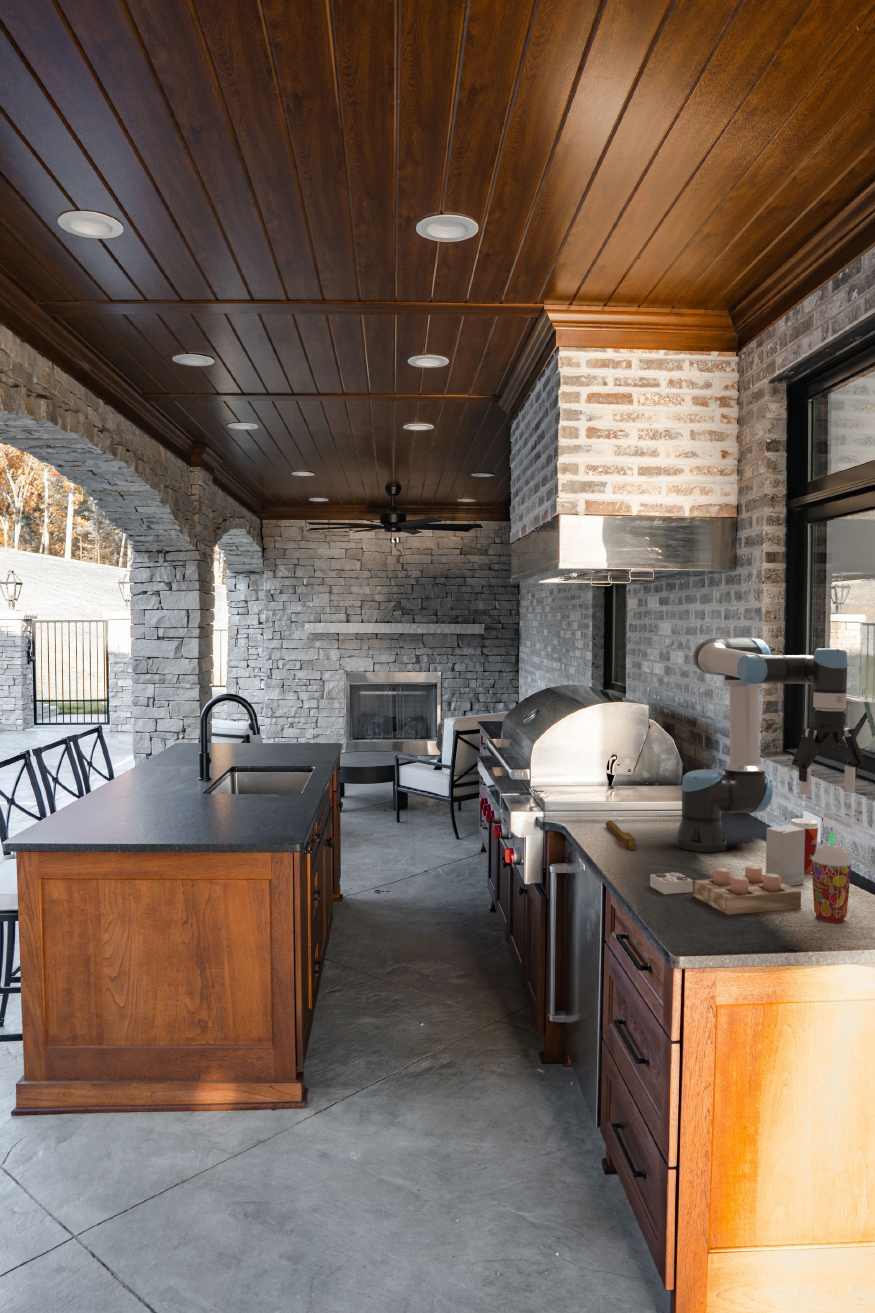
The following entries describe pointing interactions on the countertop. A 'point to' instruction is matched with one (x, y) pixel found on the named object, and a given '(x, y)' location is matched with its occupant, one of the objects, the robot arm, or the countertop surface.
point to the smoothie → (831, 882)
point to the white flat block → (671, 883)
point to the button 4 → (771, 883)
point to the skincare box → (786, 853)
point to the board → (746, 898)
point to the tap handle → (622, 835)
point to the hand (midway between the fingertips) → (827, 793)
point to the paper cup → (808, 839)
